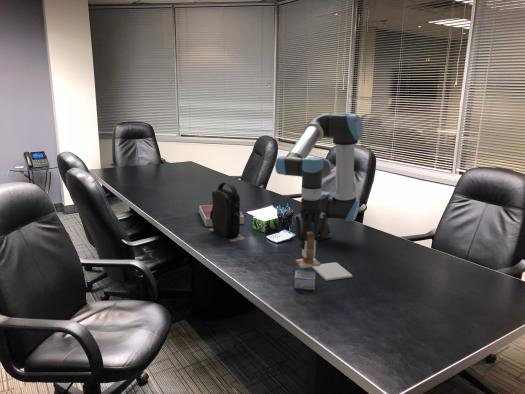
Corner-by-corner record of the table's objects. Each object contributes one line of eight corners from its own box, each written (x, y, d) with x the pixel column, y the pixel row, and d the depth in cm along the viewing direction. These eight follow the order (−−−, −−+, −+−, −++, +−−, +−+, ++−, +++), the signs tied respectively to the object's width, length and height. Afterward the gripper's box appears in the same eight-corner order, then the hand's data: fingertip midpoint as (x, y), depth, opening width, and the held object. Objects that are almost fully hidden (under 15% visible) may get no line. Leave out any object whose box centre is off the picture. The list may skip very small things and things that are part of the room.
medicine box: (315, 270, 165) (315, 279, 156) (314, 280, 166) (314, 290, 157) (295, 269, 166) (294, 278, 157) (295, 279, 167) (293, 289, 158)
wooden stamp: (295, 261, 166) (297, 231, 163) (314, 259, 168) (315, 229, 165) (301, 268, 160) (303, 236, 157) (320, 265, 163) (322, 234, 159)
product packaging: (233, 211, 263) (233, 203, 262) (243, 224, 237) (243, 216, 235) (199, 213, 257) (199, 205, 256) (206, 227, 231) (205, 218, 230)
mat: (311, 267, 179) (311, 265, 179) (336, 263, 183) (336, 262, 182) (325, 280, 166) (326, 278, 166) (352, 277, 170) (352, 275, 169)
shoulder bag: (246, 238, 213) (246, 185, 206) (231, 241, 208) (231, 187, 201) (223, 227, 231) (222, 177, 224) (208, 230, 225) (207, 179, 218)
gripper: (295, 201, 152) (293, 261, 157) (334, 199, 157) (331, 257, 162) (287, 197, 159) (286, 254, 164) (325, 194, 164) (322, 250, 169)
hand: (308, 255), depth 163 cm, fingers closed on wooden stamp, 3 cm apart
